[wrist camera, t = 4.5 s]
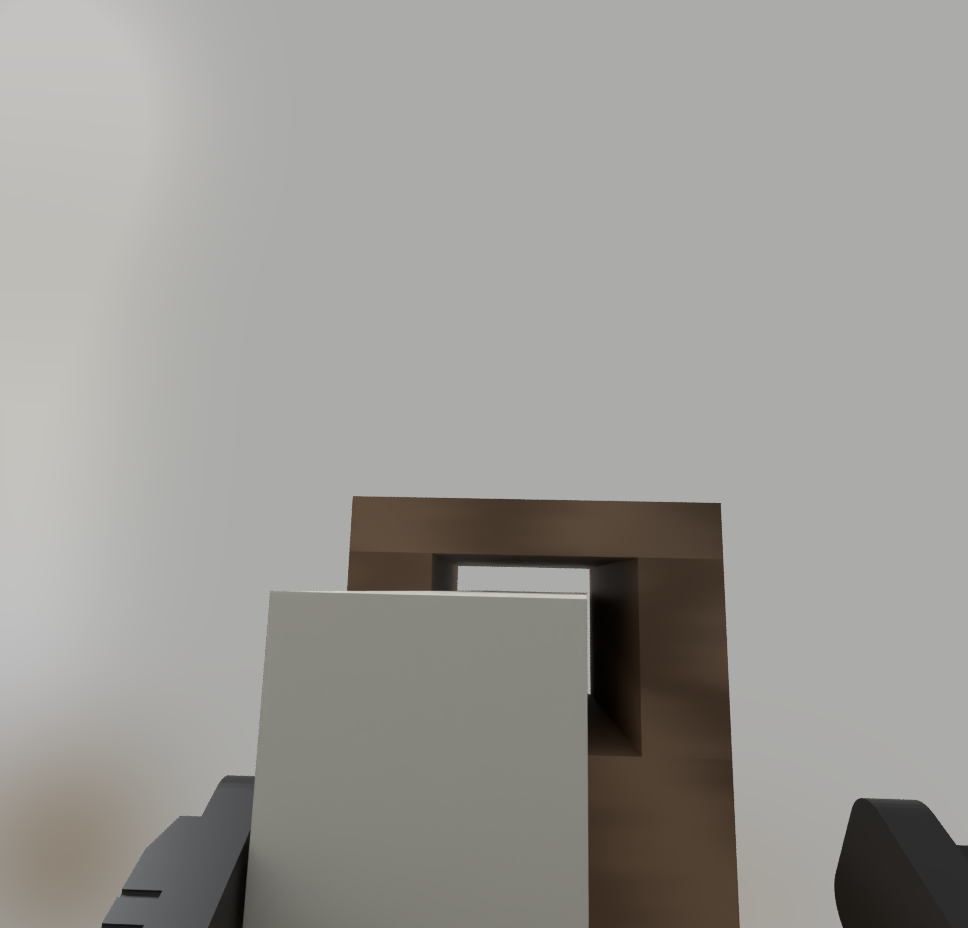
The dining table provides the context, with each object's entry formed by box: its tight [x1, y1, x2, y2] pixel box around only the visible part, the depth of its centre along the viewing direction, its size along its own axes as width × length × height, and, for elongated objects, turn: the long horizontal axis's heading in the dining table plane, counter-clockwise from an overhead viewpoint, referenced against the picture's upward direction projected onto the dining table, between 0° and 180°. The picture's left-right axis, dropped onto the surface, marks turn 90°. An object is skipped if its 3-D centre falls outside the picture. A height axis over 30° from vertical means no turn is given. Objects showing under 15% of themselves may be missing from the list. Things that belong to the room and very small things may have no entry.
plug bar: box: [243, 591, 589, 928], centre depth 18 cm, size 4×22×4 cm, turn 171°
